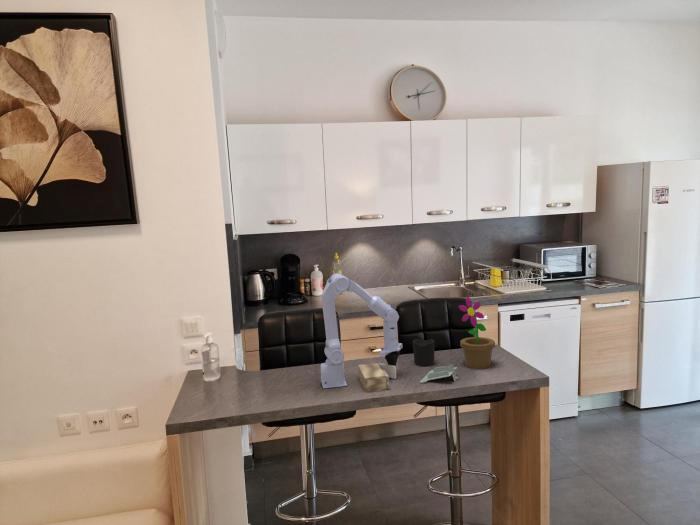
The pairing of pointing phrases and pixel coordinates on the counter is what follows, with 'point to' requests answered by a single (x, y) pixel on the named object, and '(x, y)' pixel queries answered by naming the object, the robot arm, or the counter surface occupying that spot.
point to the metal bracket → (440, 373)
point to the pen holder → (423, 352)
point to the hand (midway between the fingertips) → (392, 369)
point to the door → (389, 370)
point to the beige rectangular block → (373, 377)
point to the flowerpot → (476, 339)
